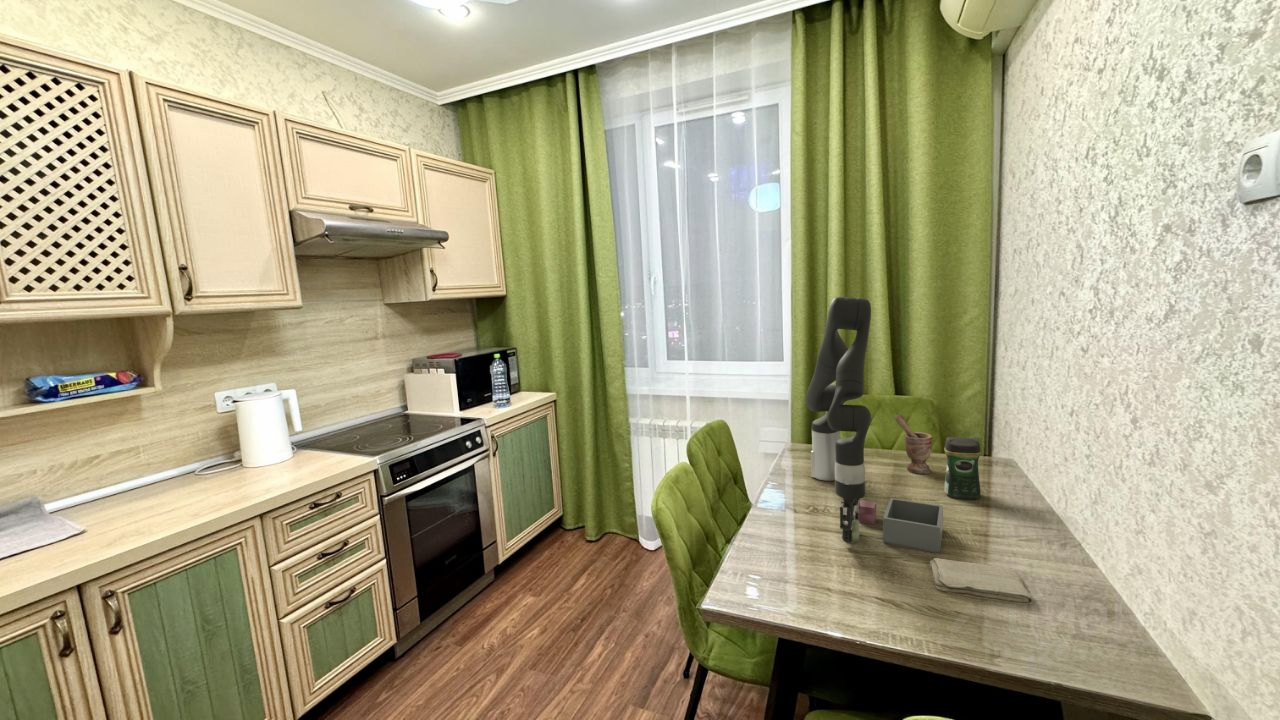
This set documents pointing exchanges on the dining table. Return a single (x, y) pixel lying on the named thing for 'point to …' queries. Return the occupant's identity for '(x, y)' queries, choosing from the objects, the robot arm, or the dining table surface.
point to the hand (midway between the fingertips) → (850, 534)
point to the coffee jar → (962, 468)
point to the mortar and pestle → (916, 447)
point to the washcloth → (980, 581)
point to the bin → (913, 525)
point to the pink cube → (867, 512)
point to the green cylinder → (854, 531)
